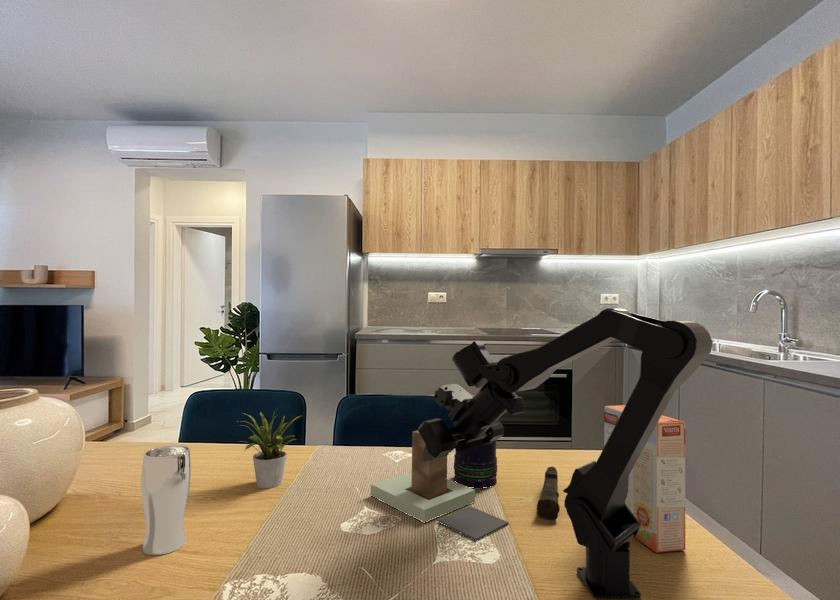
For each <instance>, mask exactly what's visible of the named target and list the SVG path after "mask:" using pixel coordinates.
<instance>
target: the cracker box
mask: <svg viewBox="0 0 840 600" xmlns="http://www.w3.org/2000/svg"><path fill="white" fill-rule="evenodd" d="M625 406H626V404H624V405H622V404H621V405H620V404H619V405H605V406H604V415H603V416H604V417H603V418H604V424H603V425H604V426H603V427H604V428H603V429H604V431H603V434H604V436H603V439H604V440H603V442H604V443H603V444H604V445H603V447H604V446H605V445H606V443H607V441H608V439H609V437H610V435H611V433H612V431H613V429H614V427H615V425H616V423H617V421H618V419H619V417H620V415H621V413H622V411H623V410H624V408H625ZM625 504H626V506H627V507H628V508H629V509H630V511H631V512H632V513H633V515H634V516H635V517H636V518H637V520H638V521H639V522H640V524H641V526H640V529H639V531H638V533H637V536H635V537H634V538H635V539H636V540H638V541H639V542H641V543H642V544H644V545H645V546H646V547H647V548H648V549H650V550H652V551H653V552H655V553H656V554H657V553H668V552H677V551H685V550H686V422H685V421H684V420H680V419H676V418H672V417H669V416H666V415H663V414H662V415H661V417H660V419H659V421H658V423H657V425H656V426H655V428H654V430H653V432H652V434H651V436H650V437H649V439H648V441H647V443H646V445H645V447H644V448H643V450H642V452H641V454H640V456H639V458H638V459H637V461H636V463H635V465H634V467H633V469H632V470H631V472H630V474H629V479H628V494H627V497H626V500H625Z"/></svg>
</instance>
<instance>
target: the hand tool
mask: <svg viewBox="0 0 840 600" xmlns="http://www.w3.org/2000/svg"><path fill="white" fill-rule="evenodd" d="M558 479H559V477H558V471H557V468H556V467H554V466H548V467H547V469H546V471H545V474H544V480H543V481H544V482H543V485H542V490H541V495H540V499H538V501H537V504H536V514H537V515H538V517H539V518H540V519H544V520H550V521H553V520H554V521H555V520H557V519H558V517H559V512H560V509H561V508H560V504H559V497H560V494H559V491H558V487H559V486H558V482H559V480H558Z"/></svg>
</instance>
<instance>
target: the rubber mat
mask: <svg viewBox="0 0 840 600" xmlns="http://www.w3.org/2000/svg"><path fill="white" fill-rule="evenodd" d="M438 521H439V522H441V523H443V524H445V525H447V526H449V527H450V528H452V529H454V530H456V531H458V532H461V533H462V534H464V535H466V536H468V537H470V538H472V539H474V540H476V541H475V542H477V540H478V541H480V540H481V539H480V538H482V539H484V538H485V537H484V536H486V535H487V536H489V535H491V534H493V533H495V532H497V531H499V530H500V528H501V529H503V528H505V527H506V525H507V526H508V525H509V522H508V521H506V520H504V519H501V518H500V517H497V516H494V515H493V514H490V513H488V512H486V511H483V510H480V509H478V508H476V507H474V506H471V505H468V506H466V507H464V508H461V509H459V510H457V511H456V512H455V511H454V512H452V513H451V514H447V515H445V516H443V517H440V518H438V519H437V522H438ZM504 526H505V527H504ZM502 527H503V528H502ZM450 528H449V529H450ZM452 529H451V530H452ZM498 529H499V530H498ZM454 530H453V531H454ZM496 530H497V531H496ZM456 531H455V532H456ZM494 531H495V532H494ZM458 532H457V533H458ZM492 532H493V533H492ZM490 533H491V534H490ZM462 534H461V535H462ZM488 534H489V535H488ZM464 535H463V536H464ZM466 536H465V537H466ZM487 536H486V537H487ZM468 537H467V538H468ZM483 537H484V538H483ZM470 538H469V539H470ZM472 539H471V540H472ZM479 539H480V540H479ZM474 540H473V541H474Z"/></svg>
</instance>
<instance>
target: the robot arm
mask: <svg viewBox="0 0 840 600" xmlns="http://www.w3.org/2000/svg"><path fill="white" fill-rule="evenodd" d="M615 340H618V341H620V342H621V343H624V344H625V345H627V346H629V347H632V348H634V349H637V350H640V351H641V355H640V359H639V360H640V361H639V363H640V364H639V368H640V369H639V377H638V381H637V383H636V384H635V387H634V389H633V390H632V392H631V394H630V396H629V398H628V400H627V402H626V403H625V405H626V406H625V408H624V410H623V411H622V413H621V415H620V417H619V419H618V421H617V423H616V425H615V427H614V429H613V431H612V433H611V435H610V437H609V439H608V441H607V443H606V445H605V446H604V445H603V448H602V450H601V452H600V455H599V456H598V458H597V460H592V461H590V462H587V463H585V464H584V465H582V466H579V467H576V468H575V469H574V471H573V473H572V475H571V479H570V482H569V485H567V487H566V488H564V489H563V493H564V494H565V493H566V496H565V498H564V501H563V502H564V504H563V507H564V508H565V509H566V514H567V515H568V518H569V519H570V521H571V522H570V523H571V524H572V528H573V532H574V536H575V539H576V542H577V544H578V545H580V546H583V547H585V567H584V566H583V567H582V566H581V567H577V568H576V573H577V574H578V575H579V577H580V579H581V580H582V582H583V584H584V585H585V586H586V588H587V590H588V591H589V593H590V595H591V596H592V597H593V598H595V599H642V598H641V597H642V594H641V592H640V590H639V589H638V588H637V587H636V586H635V584H634V583H633V582H632V581H631V578H630V577H631V576H630V575H631V573H630V572H631V560H630V559H631V555H630V554H631V552H630V551H631V548H630V547H631V545H630V544H631V543H630V540H632V539H633V538H635V536H637V533H638V531H639V529H640V526H641V524H640V522H639V521H638V520H637V518H636V517H635V516H634V515H633V513H632V512H631V511H630V509H629V508H628V507H627V506H626V504H625V500H626V497H627V494H628V479H629V474H630V472H631V470H632V469H633V467H634V465H635V463H636V461H637V459H638V458H639V456H640V454H641V452H642V450H643V448H644V447H645V445H646V443H647V441H648V439H649V437H650V436H651V434H652V432H653V430H654V428H655V426H656V425H657V423H658V421H659V419H660V417H661V415H663V413H664V411H665V410H666V409H667V406H668V404H669V403H670V401H671V399H672V397H673V395H674V393H676V391H677V390H678V389H679V387H681V386H682V385H683V384H684V383H685V382H686V381H687V380H688V379H689V378H690V377H691V376H693V374H694V373H695V372H696V371H697V370H698V368H699V367H700V366H701V365H702V364H703V363H704V361H705V360H706V359H707V358H708V357H709V356H710V354H711V352H712V349H713V339H712V336H711V335H710V332H709V331H708V330H707V329H706V328H705V326H704V325H701V324H700V323H698V322H695V321H692V320H662V319H658V318H654V317H649V316H645V315H641V314H637V313H635V312H631V311H629V310H628V309H627V310H626V309H625V308H609V307H607V308H605V309H603V310H601V311H600V312H599V313H598V314H597V315H595V316H594V317H592V318H590V319H588V320H586V321H584V322H582V323H581V324H579V325H577V326H576V327H574V328H572V329H570V330H568V331H566V332H565V333H563V334H561V335H559V336H558V337H556V338H553V339H552V340H550V341H548V342H546V343H545V344H542V345H541V346H540V347H537V348H534V349H531V350H526V351H522V352H519V353H516V354H511V355H508V356H506V357H505V356H504V357H503V358H500V359H499V360H498V361H495V360H494V358H493V357H492V355H491V354H490V353H489V351H488V350H487V348H486V345H485V344H484V343H483V342H482V341H481V340H473V342H472V343H471V344H469V345H466V346H465V347H463V348H462V349H460V350H459V351H456V352H455V353H454V355H453V356H452V359H451V361H452V363H453V365H454V366H455V368H456V369H457V371H458V372H459V374H460V376H461V377H462V379H463V380H464V382H465V383H466V385H467V387H475V388H477V389H479V388H480V389H479V390H478V391H477V392H476V393H475V395H473V396H472V394H471V393H469V392H468V391H467V390H465V388H463V387H462V386H461V385H459V384H458V383H451V384H442V386H439V387H438V389H437V390H435V391H434V396H433V400H434V401H435V402H436V404H437V405H439V406H440V407H444V408H445V409H447V410H448V411H449V413H448V414H447V415H448V417H449V420H450V421H453V427H451V428H450V427H449V428H448V427H447V425H446V423H445V421H444V420H443V419H442V418H431V419H428V420H423V422H422V423H421V424H420V425H419V427H418V429H417V430H418V431H419V433H420V435H421V437H422V439H423V440H424V442H425V447H424V451H423V454H422V459H423V461H424V462H427V461H430V460H433V459H437V458H440V457H443V456H447V457H448V456H449V455H450V453H452V452H453V451H454V450H456V452H460V451H463V450H467V449H470V448H474V447H477V446H480V445H484V444H487V443H490V442H493V441H495V440H497V441H498V440H499V439H501V438H502V437H503V436H504V435H505V427H504V425H503V424H502V422H501V421H500V418H501V417H502V415H504V414H505V413H506V412H508V413H509V415H511V416H514V415H518V414H522V413H524V412H525V406H524V398H523V397H522V396H519V395H517V394H516V393H517V392H522V391H528V390H533V389H536V388H538V387H539V386H540V385H541V384H543V383H544V382H545V381H546V380H548V379H550V377H552V375H553V374H554V372H555V371H557V370H558V369H559V368H560V367H563V366H565V365H566V364H569V363H571V362H573V361H575V360H577V359H579V358H581V357H583V356H585V355H587V354H590V353H591V352H593V351H595V350H597V349H599V348H600V347H602V346H605V345H607V344H609V343H611V342H613V341H615ZM457 441H458V443H457V444H456V442H457Z"/></svg>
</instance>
